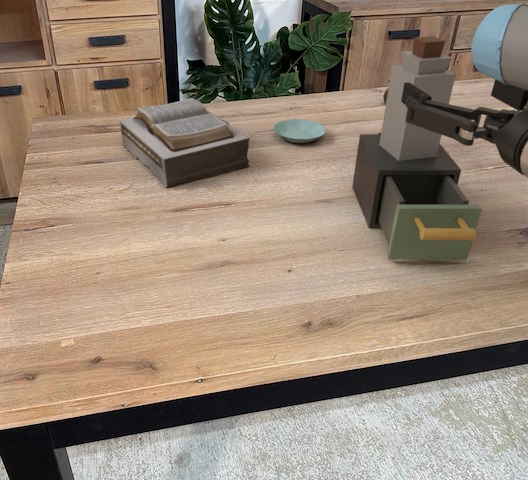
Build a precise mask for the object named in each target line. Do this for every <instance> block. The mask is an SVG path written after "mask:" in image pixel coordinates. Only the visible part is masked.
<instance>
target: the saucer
mask: <svg viewBox="0 0 528 480" xmlns="http://www.w3.org/2000/svg"><path fill="white" fill-rule="evenodd" d="M272 129H273V131H274V132H275V134H276V135H277V136H278V137H280V138H281V139H282V140H285V141H287V142H290V143H293V144H306V143H311V142H314V141H316V140H318V139H319V138H321V137H322V136H323V135H325V133H326V132H327V130H326V128H325V126H324V125H322V124H321V123H319V122H316V121H314V120H308V119H300V118H299V119H297V118H294V119H285V120H281V121H278V122H276V123H274V125H273V127H272Z"/></svg>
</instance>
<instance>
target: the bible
mask: <svg viewBox="0 0 528 480" xmlns="http://www.w3.org/2000/svg"><path fill="white" fill-rule="evenodd" d="M118 122H119V127H120V135H121V140H122V147H124V148H125V149H126V151H129V152H130V154H131V155H132V157H134V158H135V159H137V160H139V162H140V163H141V164H142V165H144V166H146V168H149V169H150V171H151V173H153V175H154V177H156V179H157V180H158V181H159V182H160V183H161V184H162V185H163V186H164V188H165V189H167V188H169V187H172V186H173V187H174V186H178V185H180V184H181V185H182V184H184V183H185V184H186V183H192V182H193V181H196V180H200V179H205V178H210V177H216V176H218V174H221V173H222V174H224V173H230V172H232V171H237V170H239V169H243V168H246V167H247V168H248V167H250V164H249V163H250V160H249V158H248V152H249V148H250V143H249V142H250V140H251V139H250V137H249V135H248V136H247V134H245V133H244V132H241V131H240V130H239V129H237V128H235V126H232V125H231V124H230V123H229V122H228V121H227V120H224V119H222V118H220V117H218V116H217V115H216V114H214V113H212V112H210V111H208V109H207V107H206V106H205V105H204V103H202V102H201V101H199V100H196V99H195V98H192V97H189V98H186V99H183V100H179V101H174V102H170V103H164V104H159V105H158V104H157V105H151V106H140V107H137V108H136V112H135V116H131V117H128V118H122V119H119V121H118Z"/></svg>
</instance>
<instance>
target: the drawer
mask: <svg viewBox="0 0 528 480" xmlns="http://www.w3.org/2000/svg"><path fill="white" fill-rule="evenodd" d="M469 203H470V200H469V199H468V198H467V196H466V195H465V194H464V193H463V191H462V190H461V189H460V187H459V186H458V185H456V183H455V182H454V181H453V179H452V178H451V177H450V176H449V175H383V181H382V186H381V192H380V198H379V203H378V209H377V215H376V217H377V219H378V222H379V224H380V226H381V228H380V229H381V231H382V233H383V235H384V238H385V240H386V242H387V244H388V247H387V252H386V257H387V259H388V260H405V261H406V260H411V261H413V260H417V261H418V260H426V261H427V260H429V261H430V260H432V261H435V260H437V261H439V260H441V261H467V259H468V258H469V254H470V250H471V247H472V244H473V241H475V240H476V237H477V232H476V231H477V227H478V223H479V220H480V217H481V215H482V210H483V208H482V206H481V205H480V204H469Z"/></svg>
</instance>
